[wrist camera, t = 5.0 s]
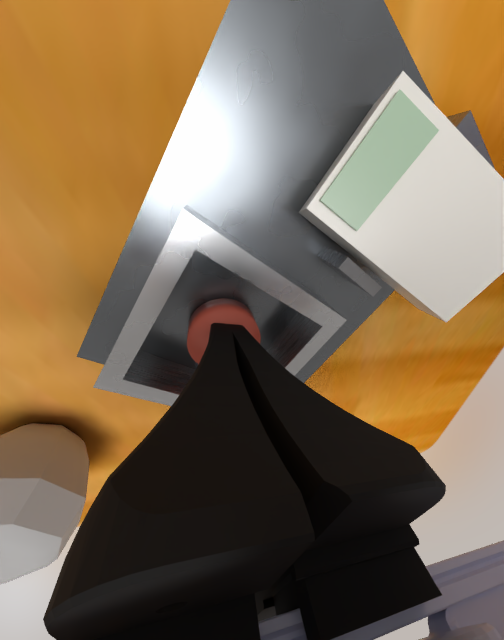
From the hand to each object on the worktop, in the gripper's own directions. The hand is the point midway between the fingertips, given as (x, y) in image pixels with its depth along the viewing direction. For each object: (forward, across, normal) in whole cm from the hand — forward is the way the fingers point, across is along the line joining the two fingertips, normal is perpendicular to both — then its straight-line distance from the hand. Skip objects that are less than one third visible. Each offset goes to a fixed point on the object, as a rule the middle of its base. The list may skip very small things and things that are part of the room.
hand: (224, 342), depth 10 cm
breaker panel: (+3, -2, -3) cm, 5 cm away
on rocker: (0, -6, -6) cm, 9 cm away
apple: (+4, +10, +12) cm, 16 cm away
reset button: (+1, 0, 0) cm, 1 cm away
